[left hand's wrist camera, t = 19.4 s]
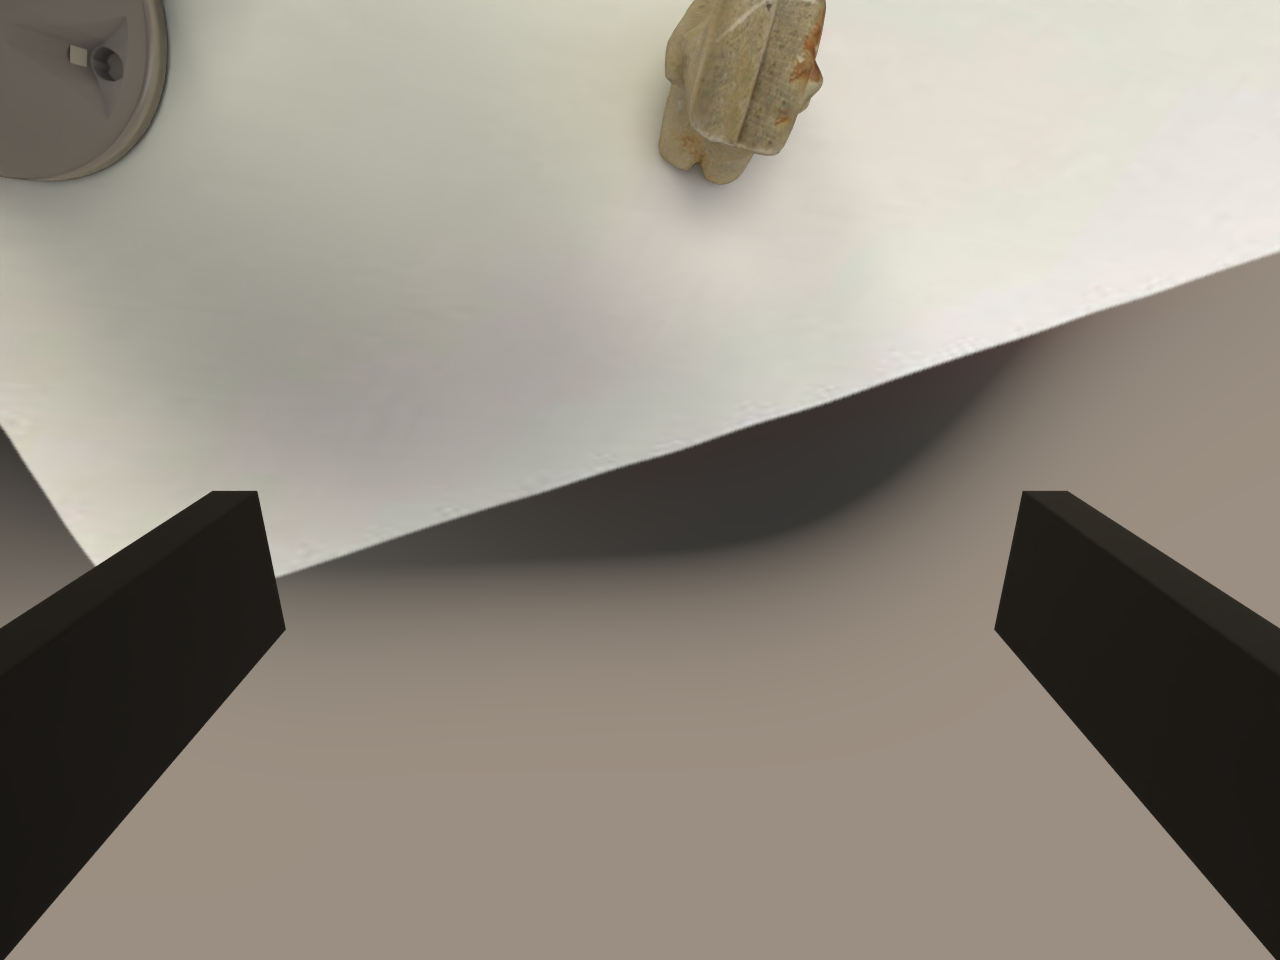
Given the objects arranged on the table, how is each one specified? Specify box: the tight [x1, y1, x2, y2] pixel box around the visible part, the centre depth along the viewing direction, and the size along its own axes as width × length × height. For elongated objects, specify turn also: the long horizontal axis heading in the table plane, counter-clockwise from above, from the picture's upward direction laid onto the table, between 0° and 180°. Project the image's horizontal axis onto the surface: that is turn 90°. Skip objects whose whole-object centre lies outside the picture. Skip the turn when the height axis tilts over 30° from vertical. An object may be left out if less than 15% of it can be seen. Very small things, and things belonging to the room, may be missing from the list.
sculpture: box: [659, 0, 826, 184], centre depth 28 cm, size 6×7×15 cm
